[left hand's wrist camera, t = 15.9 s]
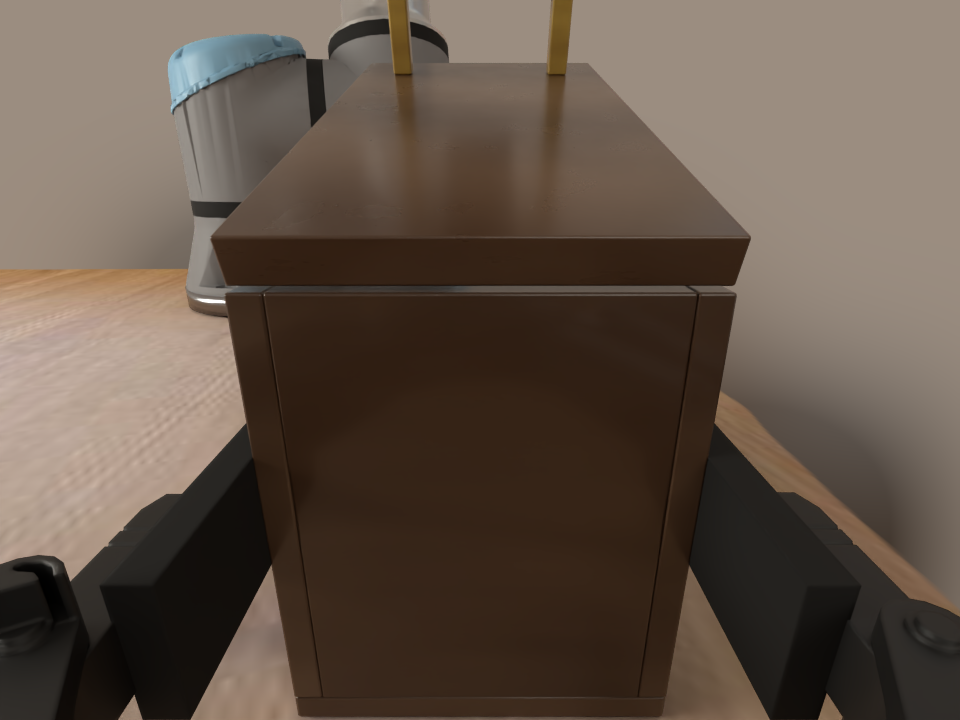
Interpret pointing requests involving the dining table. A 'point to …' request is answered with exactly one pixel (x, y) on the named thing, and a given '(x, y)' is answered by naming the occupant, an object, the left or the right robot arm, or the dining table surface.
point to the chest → (480, 488)
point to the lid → (480, 185)
